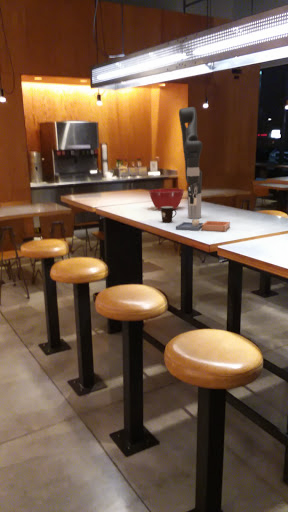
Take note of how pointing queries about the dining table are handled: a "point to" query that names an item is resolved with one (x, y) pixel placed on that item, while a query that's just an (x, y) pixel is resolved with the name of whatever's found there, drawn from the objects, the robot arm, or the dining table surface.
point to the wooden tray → (215, 226)
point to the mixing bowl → (166, 197)
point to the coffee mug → (167, 214)
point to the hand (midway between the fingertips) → (192, 203)
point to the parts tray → (188, 226)
